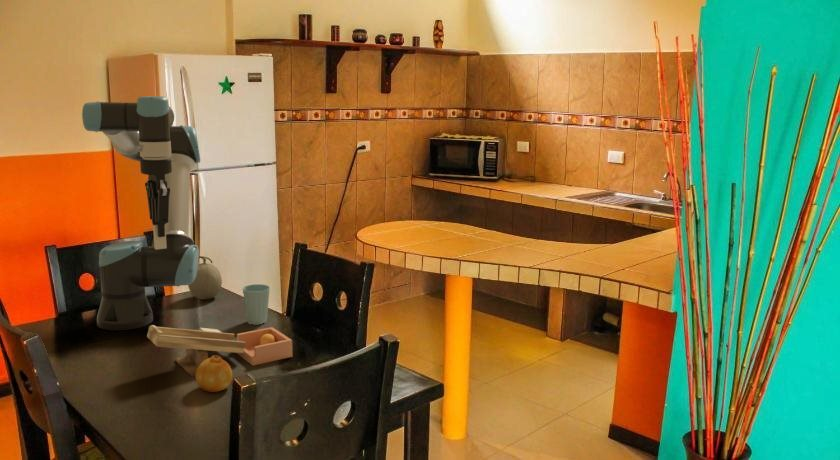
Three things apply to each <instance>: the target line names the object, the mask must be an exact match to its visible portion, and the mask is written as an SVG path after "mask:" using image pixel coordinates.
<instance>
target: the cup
mask: <svg viewBox="0 0 840 460" xmlns="http://www.w3.org/2000/svg"><path fill="white" fill-rule="evenodd" d="M270 292H271V291H270V285H267V284H263V283H262V284H261V283H258V284H249V285H248V284H247V285H246V286H245V285H244V287H242V294H243V298H244V299H243V300H244V308H245V314H246V320H247V323H248V325H252V324H253V325H254V326H258V325H259V324H260V325H263V323H264V324H265V323H267V321H268V312H269V301H270V300H269V299H270Z"/></svg>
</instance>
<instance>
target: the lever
mask: <svg viewBox="0 0 840 460" xmlns="http://www.w3.org/2000/svg"><path fill="white" fill-rule="evenodd" d="M235 336H236V334H235V333H233V332H232V333H231V332H230V333H229V332H222V331H220V330H219V329H217V328H209V327H208V328H207V327H199V330H198V329H189V328H188V329H187V328H175V327H165V326H156V325H154V324H151V325H149V326H148V331H147V334H146V338H148V339H149V340H150V342H151V343H153V344H154V345H155V346H156V347H157V348H158V347H159V348H171V349H172V348H173V349H185V350H186V349H197V350H204V351H210V352H211V351H212V352H225V353H226V352H227V353H236V352H237V353H243V352H244V348H245V344H246V342H244V341H237V340H235ZM237 353H236V354H237Z"/></svg>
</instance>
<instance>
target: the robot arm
mask: <svg viewBox="0 0 840 460" xmlns="http://www.w3.org/2000/svg"><path fill="white" fill-rule="evenodd" d="M81 116H82V117H81V118H82V125H83V128H84V129H85V130H86V131H88V132H95V133H99V132H102V133H103V134H104V135H105V136H106V137H107V138H108V140H110V142H111V145H112V147H113V148H114V150H115V151H116V152H117V153H119V155H122V156H123V157H125V158H127V159H130V160H132V161H134V162H135V161H136V162H139V165H140V173H141V174H142V175H147V177H148V178H147V181H146V182H145V183H144V186H145V190H146V198H147V204H148V205H147V206H148V213H149V220H151V222H152V227H153V228H152V230H153V240H152V242H151V243H152V244H151V246H144V244H143V242H142V241H140V240H128V241H127V240H126V241H121V242H117V243H113V244H109V245H107V246H104V247H103V248H102V249H101V250H100V251H99V255H98V257H99V260H98V261H99V263H98V266H99V275H100V276H99V277H100V289H101V291H100V292H101V300H100V304H99V309H98V312H97V316H96V326H97V327H98V328H99V329H102V330H108V331H127V330H134V329H135V330H136V329H140V328H143V327H145V326H147V325H150V324H151V323H152V322H153V321H154V315H153V310H152V307H151V305H150V303H149V300H148V298H147V295H146V288H151V287H152V288H153V287H155V288H156V287H180V286H188V285H190V284H192V283H193V282H194V281H195V278H196V275H197V270H198V264H199V259H200V258H199V256H200V251H199V250H200V249H199V246H198V245H196V244H195V241H194V240H193V238H192V237H190V234H189V233H190V231H189V229H190V189H191V188H190V186H191V183H190V182H191V173H192V171H193V170H195V168H196V164H198V163H201V157H200V156H201V155H200V148H199V144H198V143H199V141H198V135H197V130H196V128H195V127H193V126H189V125H187V126H185V125H173V124H174V122H175V113H174V111H173V109H172V107H171V106H169V99H168V97H165V96H159V95H158V96H154V95H148V96H147V95H145V96H142V95H141V96H139V97H137V99H136V102H111V101H108V102H106V101H91V102H86V103H84V104H83V105H82V110H81Z"/></svg>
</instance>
